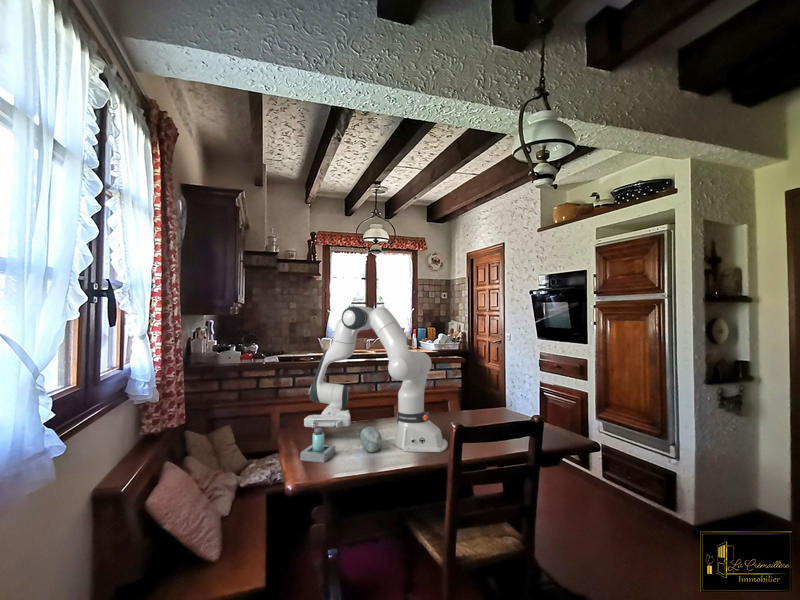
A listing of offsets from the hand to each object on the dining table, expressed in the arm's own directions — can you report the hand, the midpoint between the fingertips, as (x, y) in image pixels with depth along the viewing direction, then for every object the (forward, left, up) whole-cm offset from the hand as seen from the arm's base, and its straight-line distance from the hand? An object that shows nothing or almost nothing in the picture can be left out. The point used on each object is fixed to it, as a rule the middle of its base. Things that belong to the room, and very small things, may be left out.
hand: (324, 426), depth 165 cm
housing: (-3, +11, -9) cm, 14 cm away
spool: (-20, -3, -9) cm, 22 cm away
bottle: (-3, +11, -9) cm, 14 cm away
